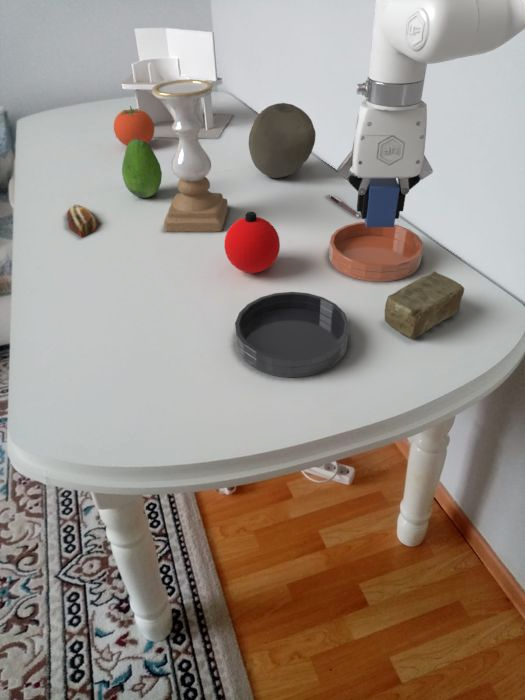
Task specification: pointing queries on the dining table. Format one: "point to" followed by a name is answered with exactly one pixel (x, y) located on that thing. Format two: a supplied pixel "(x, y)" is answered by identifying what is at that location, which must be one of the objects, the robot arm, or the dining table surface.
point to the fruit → (141, 169)
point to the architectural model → (174, 75)
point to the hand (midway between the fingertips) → (379, 214)
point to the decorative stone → (81, 220)
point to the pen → (343, 205)
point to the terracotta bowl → (375, 252)
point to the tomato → (133, 126)
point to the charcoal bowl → (291, 334)
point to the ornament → (252, 244)
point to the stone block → (423, 304)
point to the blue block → (382, 202)
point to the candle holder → (191, 162)
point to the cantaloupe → (281, 140)
